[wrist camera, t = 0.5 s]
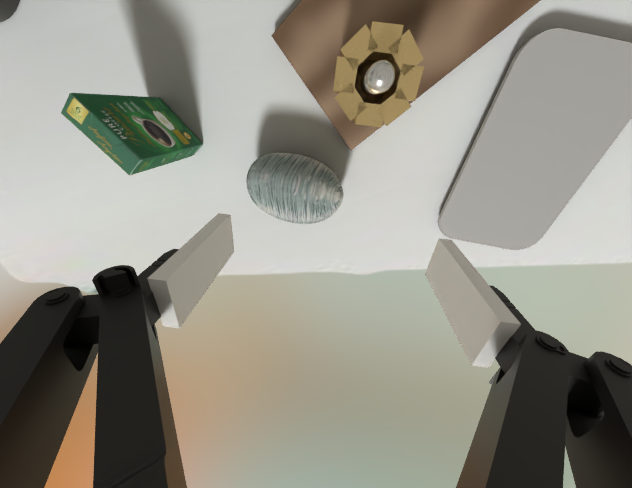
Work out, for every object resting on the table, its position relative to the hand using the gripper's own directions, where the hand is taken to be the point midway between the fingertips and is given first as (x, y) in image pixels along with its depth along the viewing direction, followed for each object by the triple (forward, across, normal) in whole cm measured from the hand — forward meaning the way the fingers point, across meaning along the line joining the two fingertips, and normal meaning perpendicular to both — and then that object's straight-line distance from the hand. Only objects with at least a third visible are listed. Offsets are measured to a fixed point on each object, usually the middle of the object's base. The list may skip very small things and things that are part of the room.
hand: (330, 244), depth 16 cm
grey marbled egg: (+24, -5, -3) cm, 25 cm away
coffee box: (+24, -24, +3) cm, 34 cm away
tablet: (+25, +26, +3) cm, 36 cm away
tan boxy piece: (+19, +3, +10) cm, 22 cm away
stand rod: (+22, +3, +10) cm, 25 cm away
